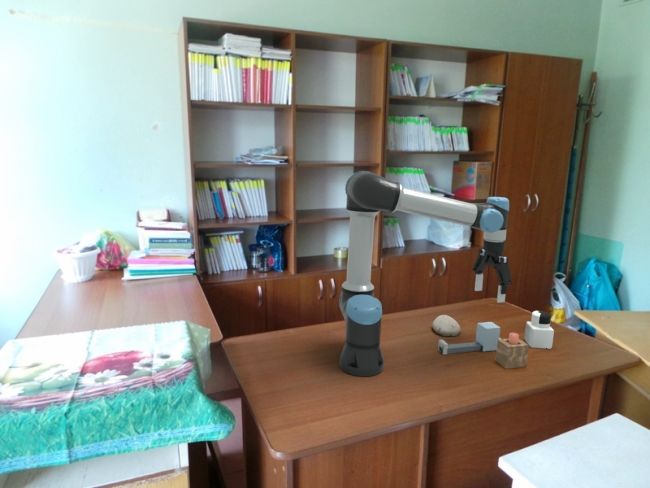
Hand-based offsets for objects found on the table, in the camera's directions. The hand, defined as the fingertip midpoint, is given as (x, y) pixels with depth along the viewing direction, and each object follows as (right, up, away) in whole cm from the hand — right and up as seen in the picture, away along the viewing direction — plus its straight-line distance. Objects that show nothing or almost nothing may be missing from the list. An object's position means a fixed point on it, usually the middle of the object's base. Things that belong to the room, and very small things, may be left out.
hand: (489, 296), depth 166 cm
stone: (-11, -17, +18) cm, 27 cm away
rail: (-7, -20, +1) cm, 21 cm away
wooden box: (+4, -22, -9) cm, 25 cm away
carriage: (0, -20, +3) cm, 20 cm away
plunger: (+4, -20, -10) cm, 22 cm away
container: (+21, -20, +7) cm, 30 cm away
